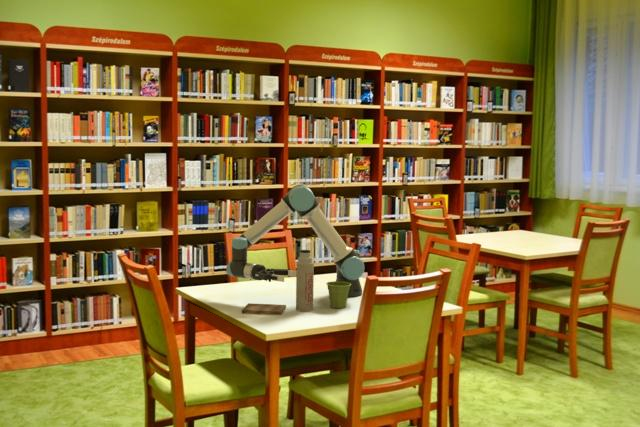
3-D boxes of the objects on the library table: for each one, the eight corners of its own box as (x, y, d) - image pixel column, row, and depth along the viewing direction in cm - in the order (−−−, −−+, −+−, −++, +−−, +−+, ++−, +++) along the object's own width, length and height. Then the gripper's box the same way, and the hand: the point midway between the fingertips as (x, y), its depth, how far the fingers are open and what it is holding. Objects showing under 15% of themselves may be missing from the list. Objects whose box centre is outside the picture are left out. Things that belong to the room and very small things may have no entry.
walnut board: (286, 308, 353) (286, 304, 353) (281, 314, 339) (281, 311, 339) (248, 306, 355) (248, 303, 355) (241, 313, 341) (241, 309, 341)
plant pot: (342, 310, 349) (343, 286, 348) (321, 307, 355) (321, 284, 354) (355, 306, 359) (355, 283, 358) (334, 303, 365) (334, 280, 364)
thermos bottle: (316, 310, 348) (317, 250, 345) (300, 312, 344) (301, 251, 342) (308, 307, 355) (309, 248, 352) (293, 308, 351) (293, 249, 349)
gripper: (270, 275, 374) (306, 280, 363) (239, 283, 352) (276, 288, 341) (270, 260, 373) (306, 265, 362) (239, 267, 352) (276, 272, 341)
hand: (292, 276), depth 352 cm, fingers open, 13 cm apart
